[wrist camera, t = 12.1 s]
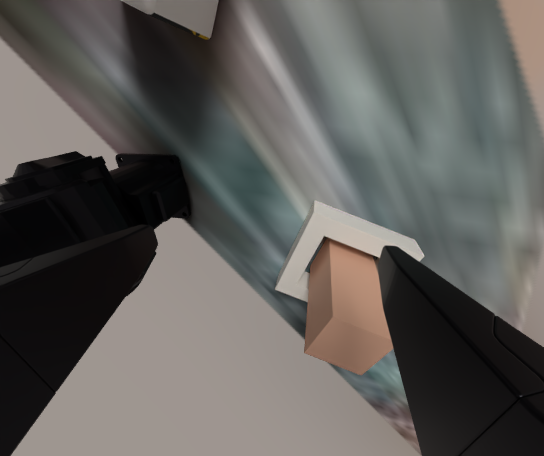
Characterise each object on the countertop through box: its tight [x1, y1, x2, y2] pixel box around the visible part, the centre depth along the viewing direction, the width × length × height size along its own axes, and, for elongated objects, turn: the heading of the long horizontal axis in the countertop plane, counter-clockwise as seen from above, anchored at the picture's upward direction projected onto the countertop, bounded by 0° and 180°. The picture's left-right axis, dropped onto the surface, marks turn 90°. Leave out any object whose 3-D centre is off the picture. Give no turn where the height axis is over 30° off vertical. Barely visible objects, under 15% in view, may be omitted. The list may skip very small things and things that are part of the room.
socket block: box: [275, 200, 424, 302], centre depth 23 cm, size 10×10×2 cm
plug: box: [304, 237, 393, 375], centre depth 20 cm, size 5×4×10 cm
